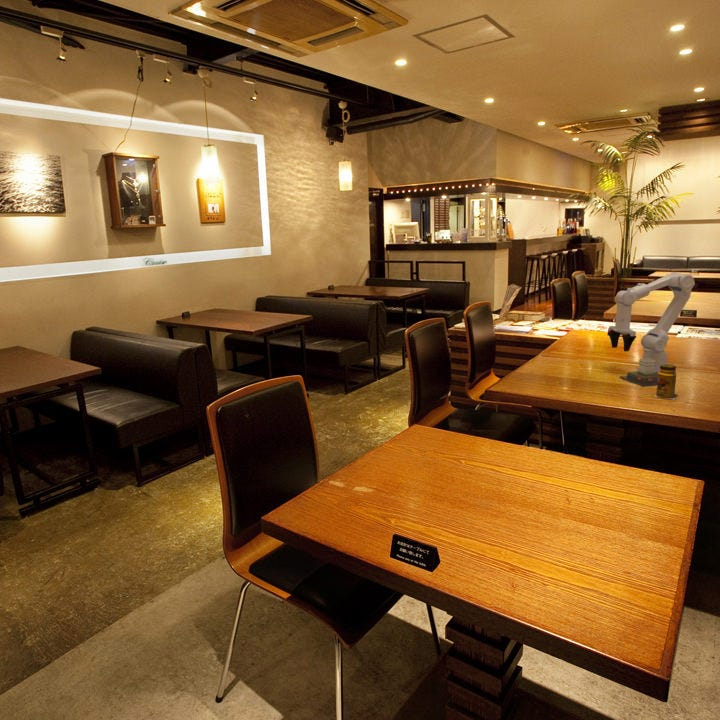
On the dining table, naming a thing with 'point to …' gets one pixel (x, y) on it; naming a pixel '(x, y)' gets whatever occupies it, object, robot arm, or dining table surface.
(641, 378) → the housing
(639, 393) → the dining table surface
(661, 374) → the condiment
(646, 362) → the column
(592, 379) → the dining table surface
